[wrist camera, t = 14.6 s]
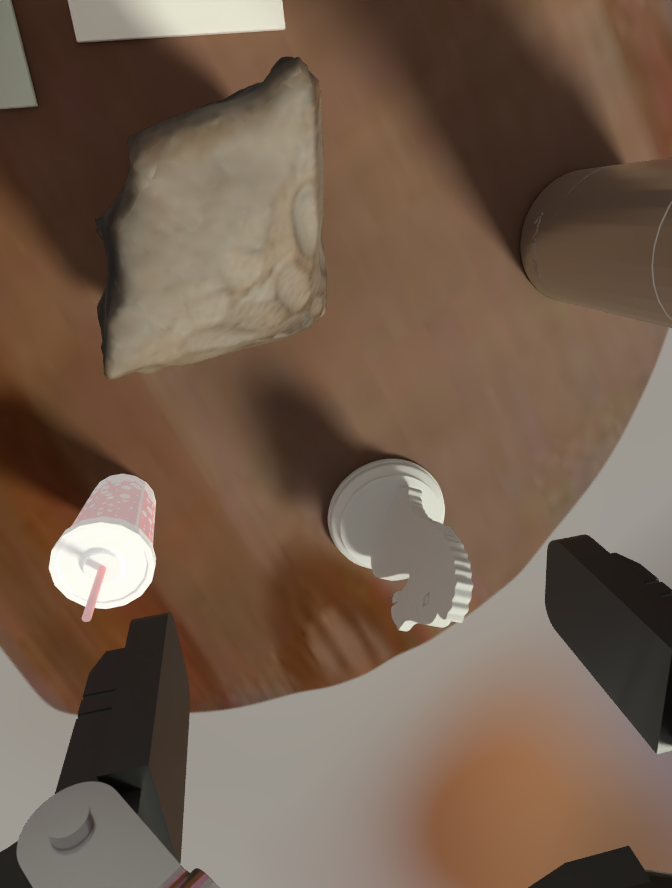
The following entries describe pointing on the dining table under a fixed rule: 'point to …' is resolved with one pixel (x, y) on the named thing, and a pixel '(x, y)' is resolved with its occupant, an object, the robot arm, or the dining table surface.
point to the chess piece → (403, 540)
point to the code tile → (171, 18)
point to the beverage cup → (108, 546)
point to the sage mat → (13, 63)
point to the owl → (218, 229)
